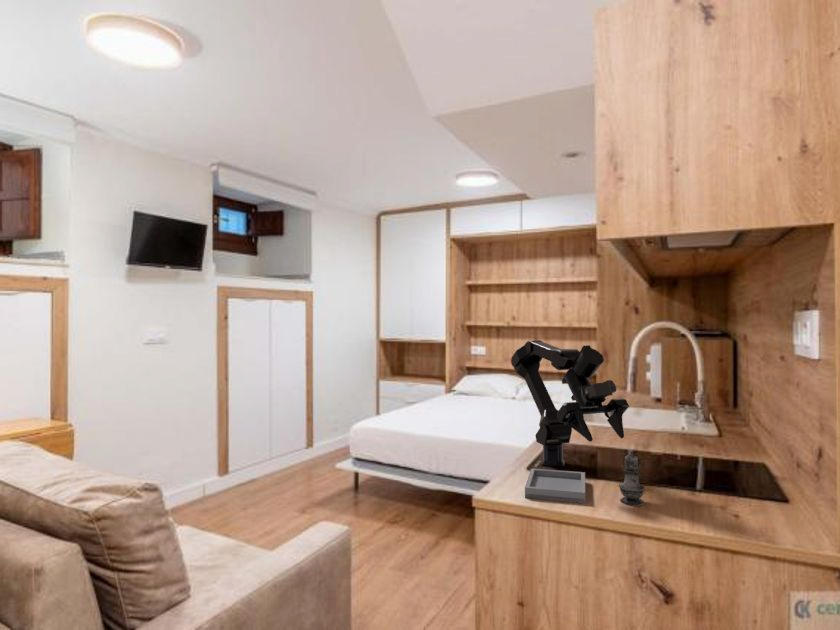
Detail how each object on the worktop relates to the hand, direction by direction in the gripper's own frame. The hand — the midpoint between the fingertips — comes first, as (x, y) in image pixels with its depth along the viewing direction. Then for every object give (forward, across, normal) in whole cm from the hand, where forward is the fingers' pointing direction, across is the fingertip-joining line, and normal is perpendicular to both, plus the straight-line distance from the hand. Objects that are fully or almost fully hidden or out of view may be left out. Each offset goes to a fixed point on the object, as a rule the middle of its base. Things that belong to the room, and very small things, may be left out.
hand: (607, 439), depth 127 cm
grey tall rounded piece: (+15, +1, +4) cm, 15 cm away
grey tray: (+6, -11, +13) cm, 18 cm away
